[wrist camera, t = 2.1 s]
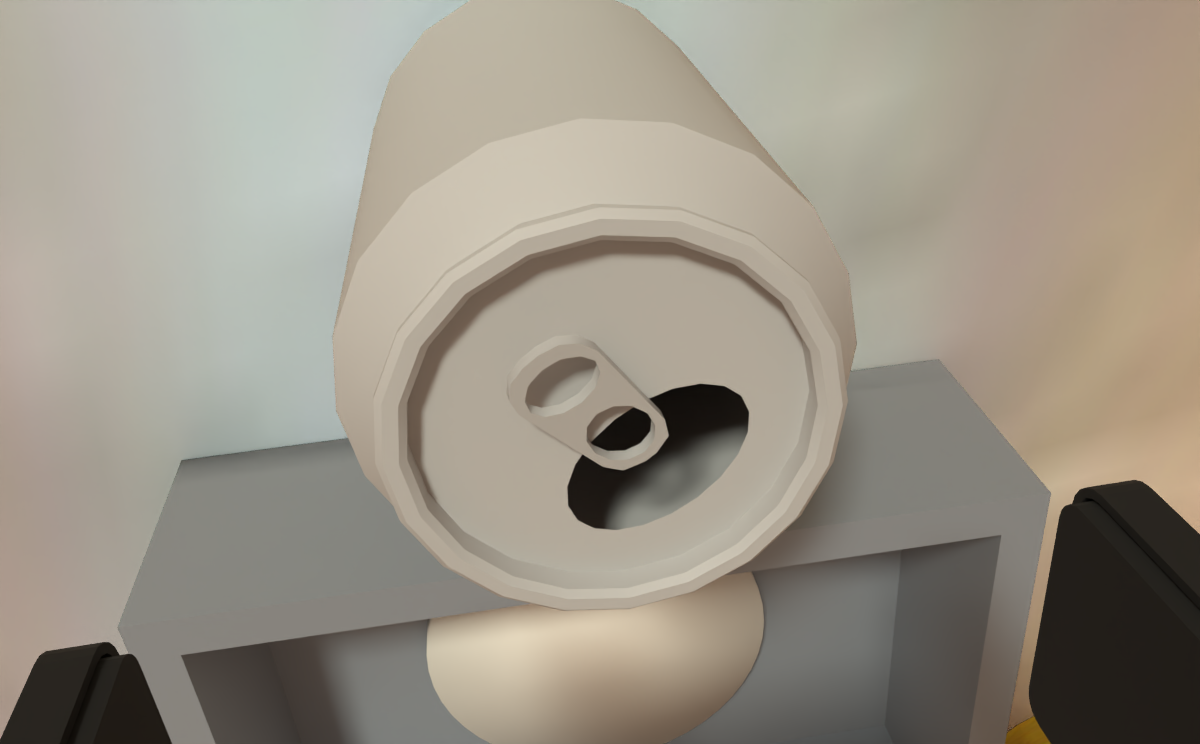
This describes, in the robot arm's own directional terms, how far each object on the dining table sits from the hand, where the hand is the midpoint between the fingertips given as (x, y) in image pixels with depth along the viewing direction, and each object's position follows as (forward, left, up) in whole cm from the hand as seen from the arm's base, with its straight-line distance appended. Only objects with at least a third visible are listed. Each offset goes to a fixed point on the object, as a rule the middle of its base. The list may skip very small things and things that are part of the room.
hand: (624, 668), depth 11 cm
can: (0, 0, -16) cm, 16 cm away
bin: (0, +14, -15) cm, 21 cm away
